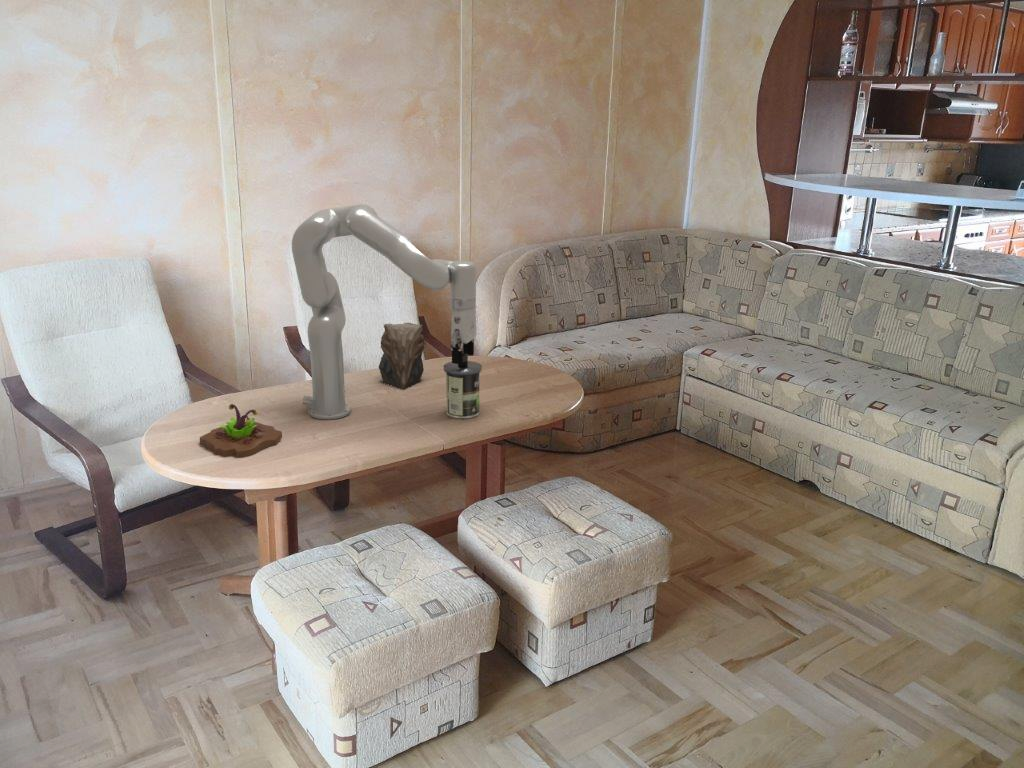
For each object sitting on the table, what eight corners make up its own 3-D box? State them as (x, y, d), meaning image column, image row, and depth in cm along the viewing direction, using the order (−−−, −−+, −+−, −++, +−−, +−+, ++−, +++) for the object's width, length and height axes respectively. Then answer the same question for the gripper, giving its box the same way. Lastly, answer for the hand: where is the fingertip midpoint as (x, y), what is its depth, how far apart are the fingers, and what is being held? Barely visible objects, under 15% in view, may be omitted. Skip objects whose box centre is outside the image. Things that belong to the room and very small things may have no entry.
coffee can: (480, 407, 265) (480, 364, 261) (478, 419, 256) (478, 374, 251) (447, 406, 265) (447, 363, 261) (444, 418, 256) (444, 374, 251)
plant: (245, 424, 248) (242, 388, 245) (292, 439, 239) (290, 402, 235) (188, 446, 232) (183, 408, 229) (236, 463, 223) (232, 423, 219)
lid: (437, 372, 252) (437, 356, 251) (451, 362, 263) (451, 346, 261) (474, 377, 249) (474, 360, 247) (486, 366, 260) (487, 350, 258)
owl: (377, 381, 287) (375, 324, 280) (405, 373, 296) (404, 318, 289) (402, 390, 279) (401, 331, 273) (430, 381, 288) (429, 324, 282)
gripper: (464, 311, 241) (464, 368, 246) (484, 298, 256) (484, 352, 262) (440, 308, 243) (440, 365, 248) (461, 296, 258) (461, 350, 264)
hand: (462, 358), depth 255 cm, fingers open, 9 cm apart
